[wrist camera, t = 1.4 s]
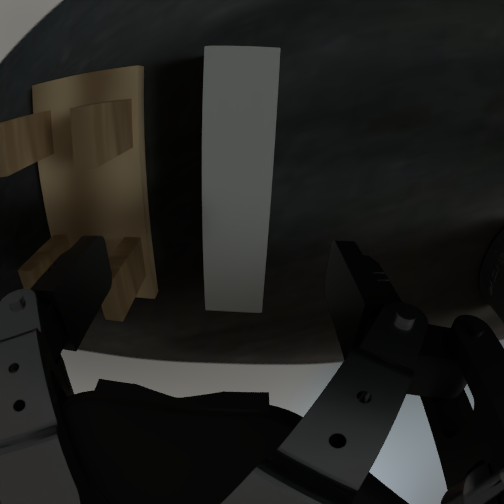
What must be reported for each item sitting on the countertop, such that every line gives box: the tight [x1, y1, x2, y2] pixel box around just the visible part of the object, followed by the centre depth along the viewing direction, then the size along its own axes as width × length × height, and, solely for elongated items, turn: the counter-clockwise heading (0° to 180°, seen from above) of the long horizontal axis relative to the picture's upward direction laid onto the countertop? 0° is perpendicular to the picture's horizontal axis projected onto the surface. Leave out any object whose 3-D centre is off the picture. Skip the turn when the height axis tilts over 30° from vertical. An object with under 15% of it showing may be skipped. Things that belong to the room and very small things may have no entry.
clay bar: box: [202, 46, 280, 313], centre depth 18 cm, size 4×15×4 cm, turn 177°
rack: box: [0, 66, 158, 322], centre depth 17 cm, size 8×16×6 cm, turn 178°
